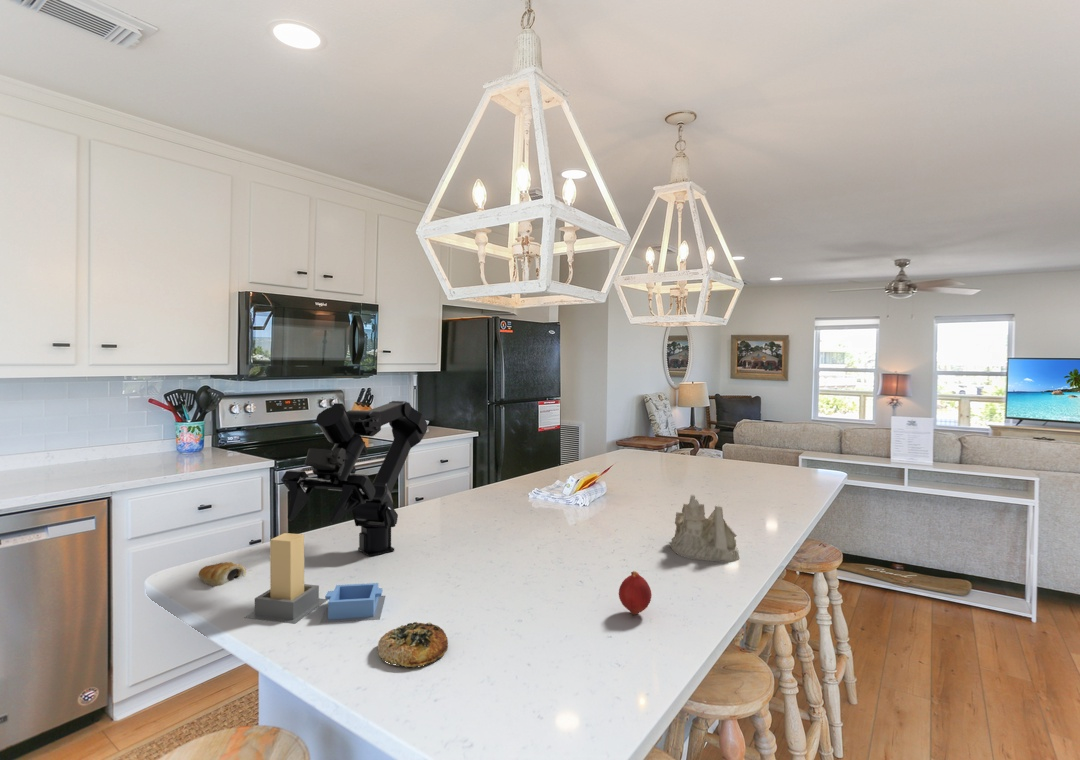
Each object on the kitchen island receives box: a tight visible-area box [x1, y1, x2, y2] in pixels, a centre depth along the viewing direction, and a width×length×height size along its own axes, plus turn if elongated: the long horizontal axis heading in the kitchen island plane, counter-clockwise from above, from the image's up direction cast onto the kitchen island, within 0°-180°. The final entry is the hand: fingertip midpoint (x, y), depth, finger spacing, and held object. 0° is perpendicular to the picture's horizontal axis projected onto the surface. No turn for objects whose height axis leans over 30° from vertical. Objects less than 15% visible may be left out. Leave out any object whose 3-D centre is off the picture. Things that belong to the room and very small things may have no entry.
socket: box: [243, 583, 328, 624], centre depth 102 cm, size 10×10×4 cm
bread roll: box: [377, 621, 449, 668], centre depth 88 cm, size 11×11×5 cm
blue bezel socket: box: [319, 582, 386, 624], centre depth 102 cm, size 10×10×4 cm
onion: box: [618, 570, 653, 616], centre depth 102 cm, size 6×6×8 cm
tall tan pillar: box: [269, 532, 305, 600], centre depth 102 cm, size 4×4×13 cm
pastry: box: [198, 561, 247, 588], centre depth 116 cm, size 9×7×4 cm
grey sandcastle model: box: [670, 494, 741, 563], centre depth 139 cm, size 16×16×15 cm
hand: (310, 521), depth 109 cm, fingers open, 9 cm apart
